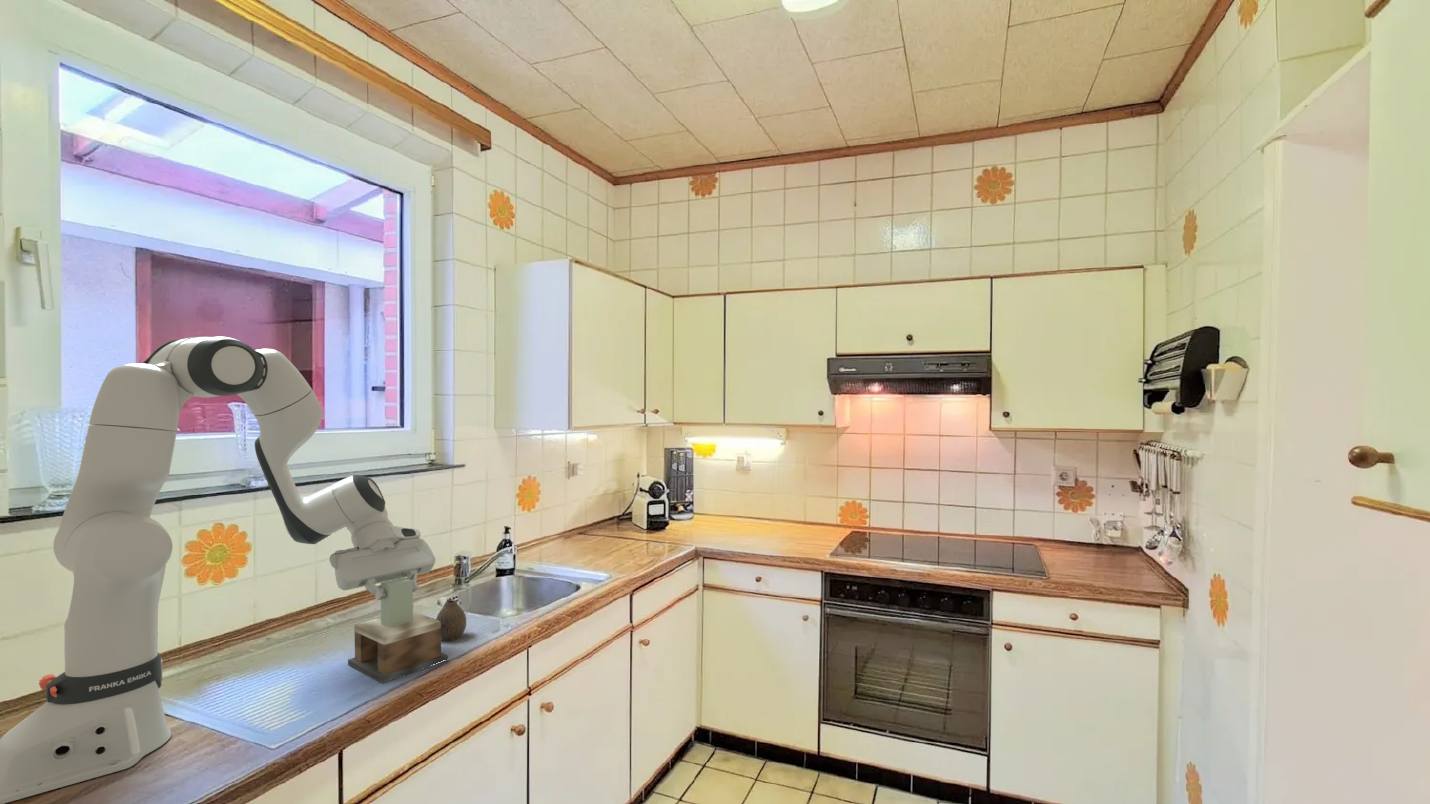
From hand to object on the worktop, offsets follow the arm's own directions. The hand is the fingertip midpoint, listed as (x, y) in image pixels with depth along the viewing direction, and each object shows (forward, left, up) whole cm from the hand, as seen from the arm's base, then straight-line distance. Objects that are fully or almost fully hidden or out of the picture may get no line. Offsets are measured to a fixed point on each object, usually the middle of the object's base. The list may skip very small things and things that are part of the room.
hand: (398, 594), depth 137 cm
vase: (+15, +6, -15) cm, 22 cm away
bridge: (0, +1, -15) cm, 15 cm away
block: (0, +1, -6) cm, 6 cm away
